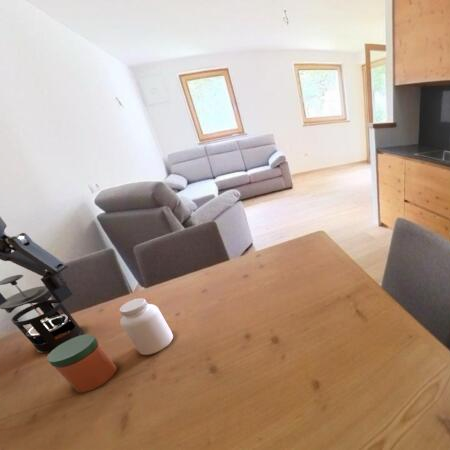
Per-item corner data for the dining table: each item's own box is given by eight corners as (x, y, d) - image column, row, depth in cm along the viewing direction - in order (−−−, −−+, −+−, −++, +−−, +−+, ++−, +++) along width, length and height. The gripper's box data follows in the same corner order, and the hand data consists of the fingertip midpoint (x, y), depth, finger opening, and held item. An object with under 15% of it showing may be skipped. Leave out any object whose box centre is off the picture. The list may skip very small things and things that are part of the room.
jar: (66, 394, 67) (39, 365, 63) (93, 366, 74) (70, 338, 69) (100, 389, 68) (76, 360, 63) (124, 362, 75) (103, 334, 70)
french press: (81, 342, 82) (31, 279, 72) (33, 361, 76) (-29, 296, 66) (86, 320, 90) (42, 261, 80) (43, 336, 85) (-10, 275, 74)
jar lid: (107, 337, 71) (103, 332, 70) (78, 364, 64) (74, 359, 63) (73, 341, 70) (69, 336, 69) (40, 369, 63) (35, 364, 62)
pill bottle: (143, 361, 75) (116, 320, 68) (136, 346, 79) (109, 307, 73) (178, 341, 80) (155, 301, 74) (168, 329, 85) (146, 290, 78)
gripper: (-145, 231, 49) (-53, 320, 58) (14, 219, 51) (78, 307, 60) (-84, 214, 55) (-10, 296, 65) (54, 204, 58) (106, 285, 67)
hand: (32, 301), depth 63 cm, fingers open, 13 cm apart
